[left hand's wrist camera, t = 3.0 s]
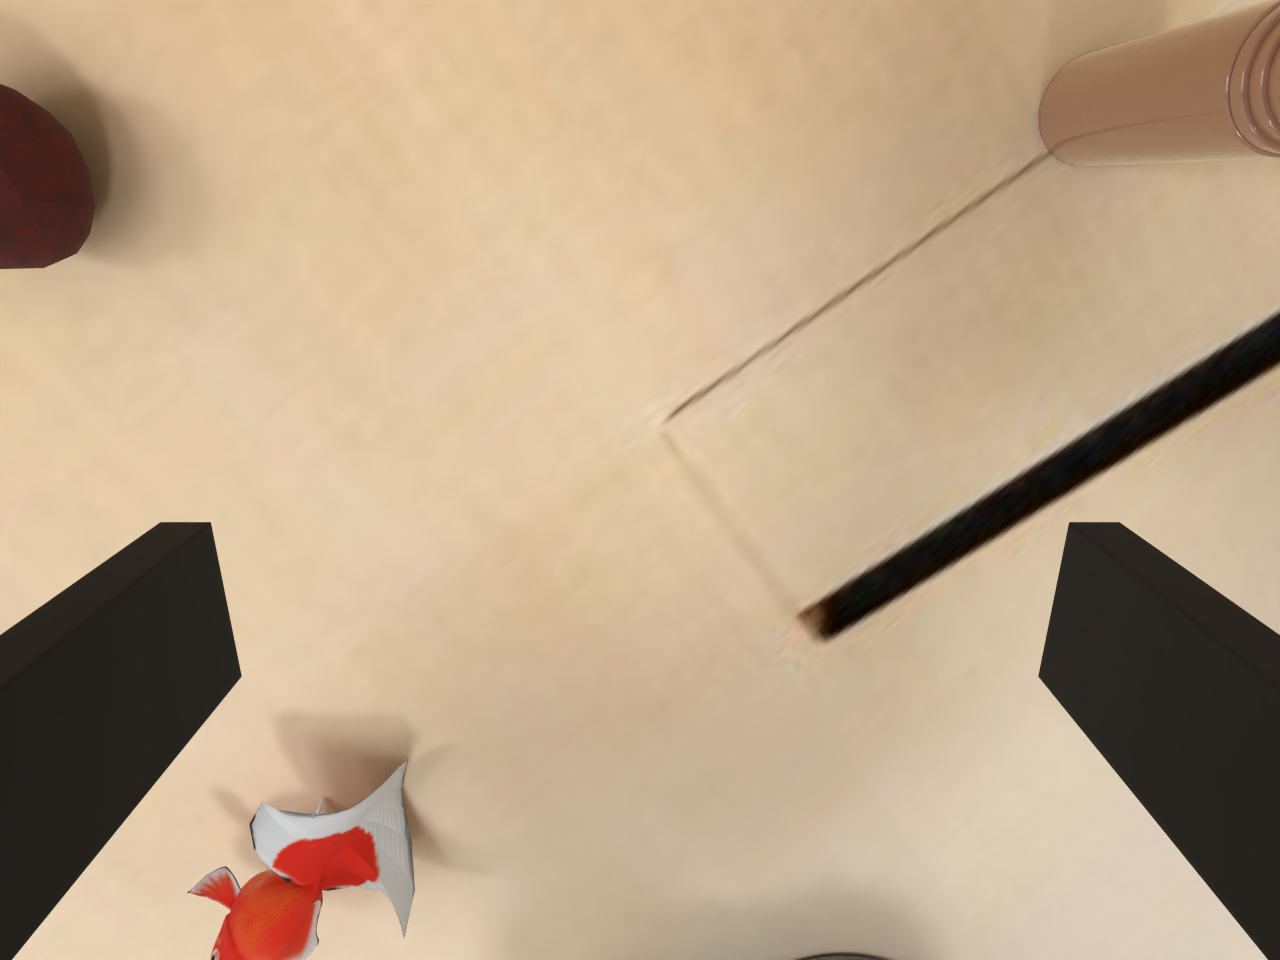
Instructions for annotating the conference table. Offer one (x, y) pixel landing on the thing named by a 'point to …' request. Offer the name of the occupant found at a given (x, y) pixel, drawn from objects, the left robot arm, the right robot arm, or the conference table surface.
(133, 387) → the conference table surface
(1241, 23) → the bottle
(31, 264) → the dark maroon ball
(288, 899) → the fish
